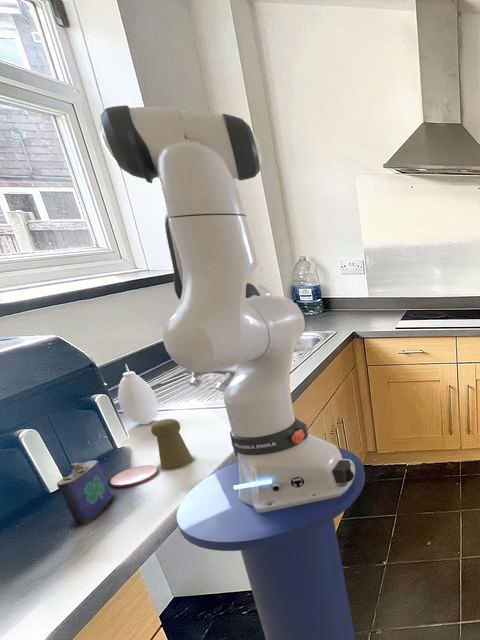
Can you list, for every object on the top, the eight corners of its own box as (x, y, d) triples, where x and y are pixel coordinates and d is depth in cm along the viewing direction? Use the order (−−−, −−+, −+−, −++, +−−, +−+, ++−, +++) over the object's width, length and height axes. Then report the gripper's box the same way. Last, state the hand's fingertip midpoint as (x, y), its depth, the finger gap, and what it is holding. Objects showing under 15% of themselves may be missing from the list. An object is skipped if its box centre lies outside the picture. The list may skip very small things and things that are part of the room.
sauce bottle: (142, 430, 115) (121, 368, 109) (120, 427, 116) (98, 366, 110) (169, 418, 122) (151, 360, 116) (148, 416, 124) (129, 358, 117)
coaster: (165, 465, 98) (164, 463, 98) (143, 485, 90) (143, 482, 90) (126, 469, 96) (125, 467, 96) (101, 489, 89) (100, 486, 89)
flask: (101, 497, 86) (83, 452, 82) (118, 495, 87) (101, 450, 83) (70, 526, 78) (48, 477, 74) (89, 523, 79) (68, 475, 75)
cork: (185, 467, 97) (172, 425, 93) (155, 471, 96) (140, 428, 92) (197, 455, 103) (185, 414, 99) (168, 458, 101) (155, 417, 97)
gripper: (195, 330, 109) (166, 377, 104) (252, 338, 103) (224, 388, 97) (216, 343, 115) (189, 387, 109) (271, 350, 108) (245, 398, 103)
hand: (206, 388), depth 103 cm, fingers open, 8 cm apart
